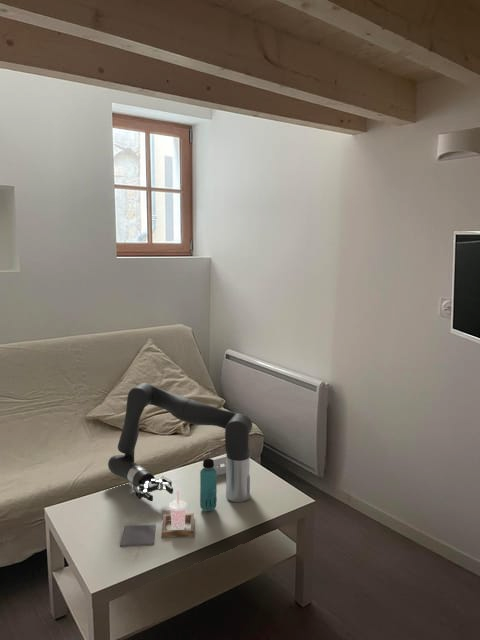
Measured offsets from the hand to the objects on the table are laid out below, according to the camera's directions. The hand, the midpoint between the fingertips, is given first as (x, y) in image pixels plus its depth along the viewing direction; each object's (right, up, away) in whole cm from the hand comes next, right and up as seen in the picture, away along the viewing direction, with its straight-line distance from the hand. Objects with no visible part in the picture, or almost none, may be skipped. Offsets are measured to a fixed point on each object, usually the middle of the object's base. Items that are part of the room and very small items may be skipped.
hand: (162, 495), depth 181 cm
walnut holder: (+7, -9, -6) cm, 13 cm away
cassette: (+21, -3, +35) cm, 40 cm away
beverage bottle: (+17, -8, +5) cm, 19 cm away
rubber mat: (-6, -10, -12) cm, 17 cm away
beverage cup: (+7, -10, -6) cm, 13 cm away
